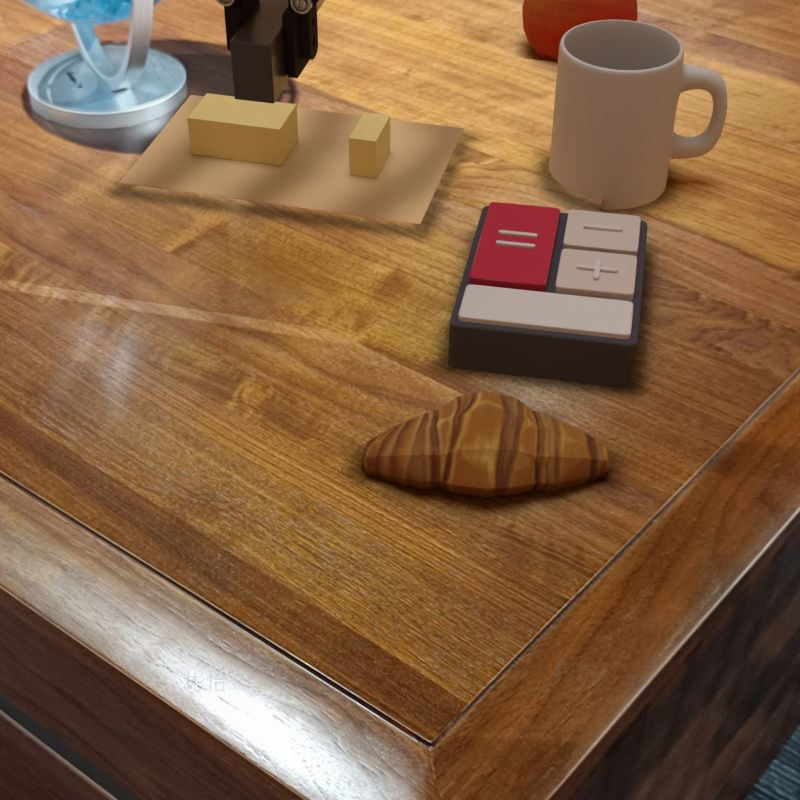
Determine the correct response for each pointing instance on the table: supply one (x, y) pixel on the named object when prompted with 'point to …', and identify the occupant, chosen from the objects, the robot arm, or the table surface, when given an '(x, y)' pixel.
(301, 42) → the robot arm
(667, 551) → the table surface
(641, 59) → the mug
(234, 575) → the table surface
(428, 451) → the croissant
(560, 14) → the fruit
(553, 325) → the calculator
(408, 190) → the butter wrapper
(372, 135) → the butter pat
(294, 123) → the butter stick
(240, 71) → the knife
